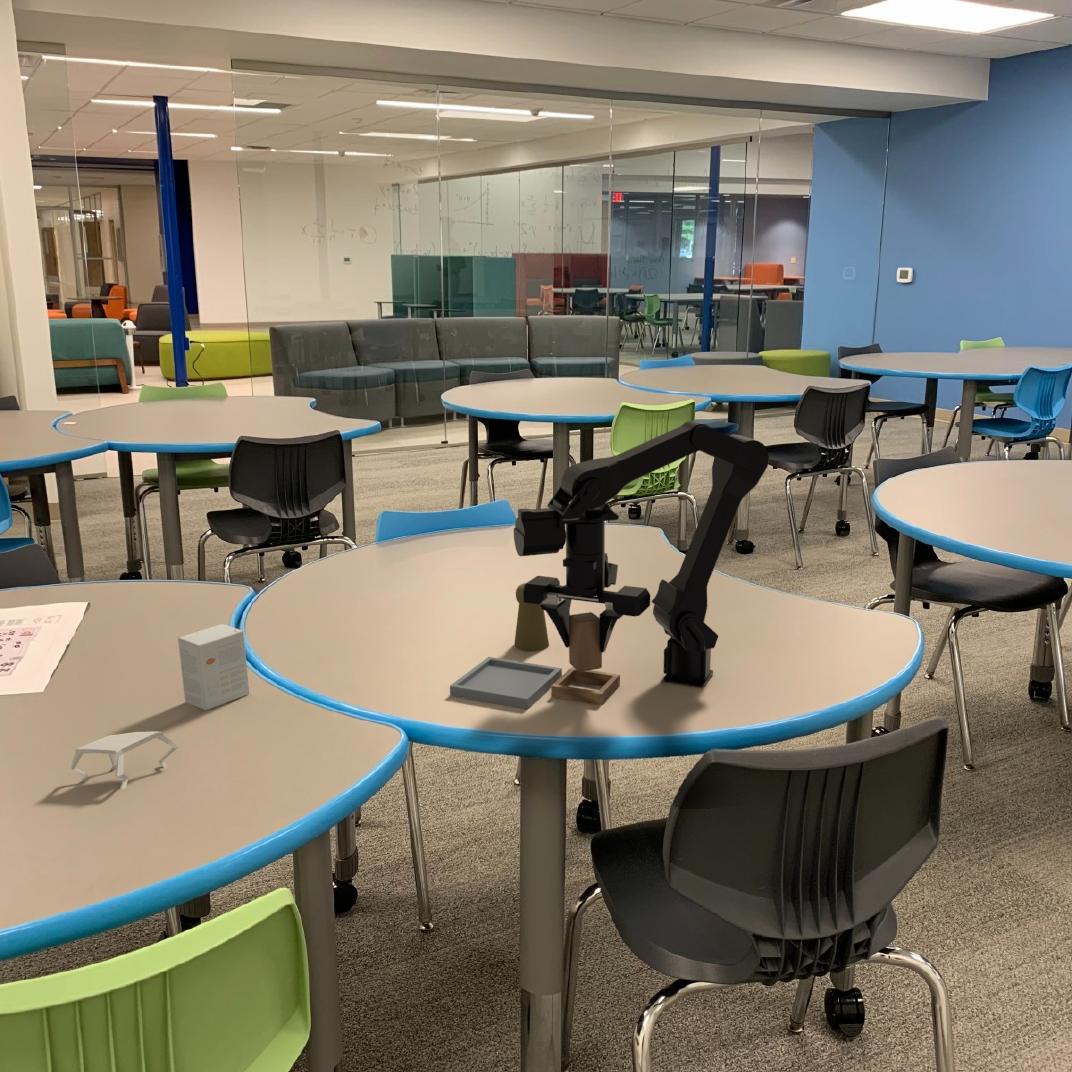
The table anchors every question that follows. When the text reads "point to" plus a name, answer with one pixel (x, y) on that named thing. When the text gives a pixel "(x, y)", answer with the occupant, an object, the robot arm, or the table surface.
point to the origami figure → (120, 750)
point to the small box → (213, 666)
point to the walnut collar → (584, 695)
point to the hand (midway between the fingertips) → (585, 649)
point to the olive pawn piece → (530, 625)
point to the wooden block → (584, 642)
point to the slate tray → (506, 682)
